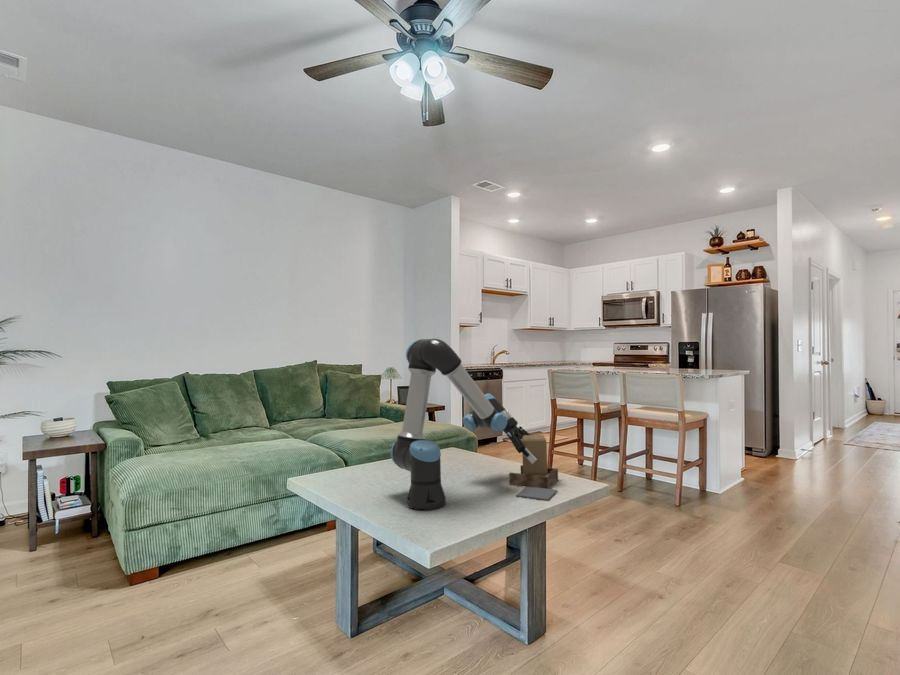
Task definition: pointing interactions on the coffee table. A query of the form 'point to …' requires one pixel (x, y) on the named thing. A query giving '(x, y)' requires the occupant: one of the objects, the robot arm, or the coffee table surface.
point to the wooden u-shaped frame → (534, 479)
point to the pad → (537, 493)
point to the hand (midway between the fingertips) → (539, 458)
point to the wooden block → (535, 455)
